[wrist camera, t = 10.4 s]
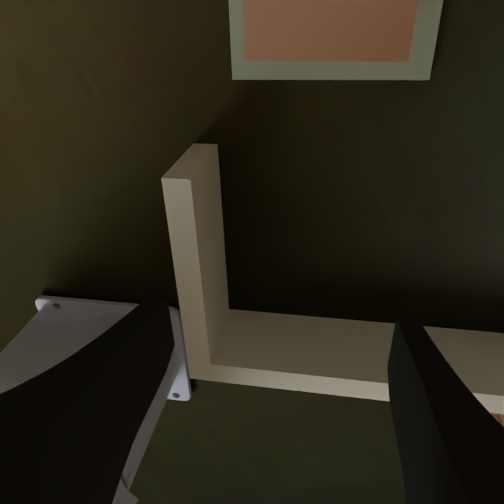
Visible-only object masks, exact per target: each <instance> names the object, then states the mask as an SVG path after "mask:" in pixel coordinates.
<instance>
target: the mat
mask: <svg viewBox="0 0 504 504" xmlns="http://www.w3.org/2000/svg"><path fill="white" fill-rule="evenodd" d="M442 5H443V0H418V4H417V11H416V17H415V23H414V30H413V36H412V42H411V49H410V55H409V61H408V62H356V61H245V55H244V11H243V0H229V20H230V41H231V62H232V80H430V74H431V68H432V63H433V57H434V51H435V45H436V40H437V34H438V28H439V22H440V16H441V11H442Z"/></svg>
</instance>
